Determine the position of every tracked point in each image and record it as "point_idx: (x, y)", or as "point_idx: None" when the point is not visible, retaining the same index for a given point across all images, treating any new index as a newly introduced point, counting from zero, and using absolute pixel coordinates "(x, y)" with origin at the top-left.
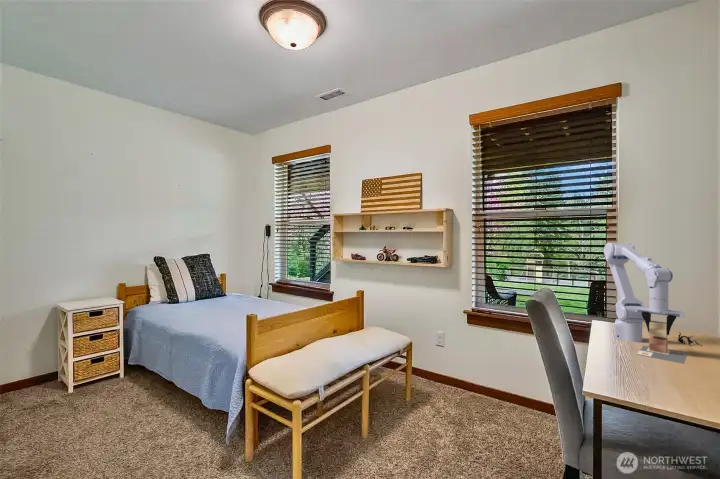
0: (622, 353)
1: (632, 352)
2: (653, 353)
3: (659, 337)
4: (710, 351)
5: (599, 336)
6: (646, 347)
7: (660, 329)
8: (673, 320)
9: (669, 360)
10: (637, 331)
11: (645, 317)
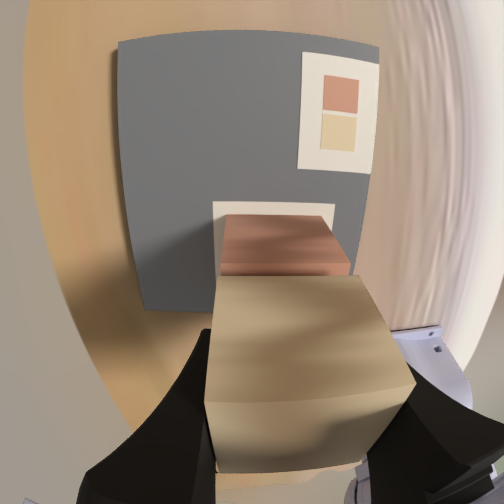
0: (437, 78)
1: (399, 140)
2: (294, 152)
3: None
4: (120, 402)
5: (472, 337)
6: None
7: (275, 338)
8: (95, 472)
9: (191, 42)
10: None
11: (473, 431)
